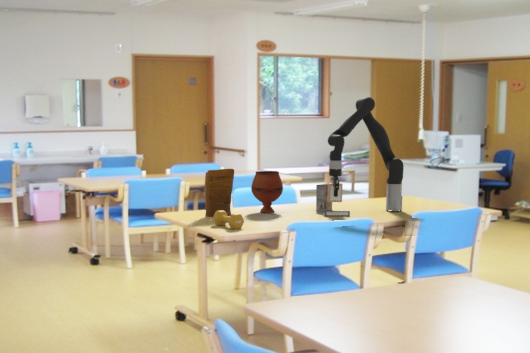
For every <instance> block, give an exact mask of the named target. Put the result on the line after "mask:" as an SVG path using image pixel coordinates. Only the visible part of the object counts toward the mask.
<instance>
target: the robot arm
mask: <svg viewBox="0 0 530 353" xmlns="http://www.w3.org/2000/svg"><path fill="white" fill-rule="evenodd" d="M375 106H376V102H375V99H374V98H372V97H370V96H366V97H363V98H359V99H357V101H356V102H355V109H356V111H355V112H354V113H353V114H351V115H350V116H349V117H348V118H346V119H345V120H344V121H343V123H342V124H341V125H340V126H339V127H338V128H337V129H336V130H335V131H333V132H331V133H330V134H329V136H328V138H327V144H328V145H329V146H331V147H333V150H331V151H330V152H329V163H328V165H329V166H328V168H329V169H328V175H329V176H330V177H331V178H330V183H333V187H334V197H337V196H338V190H339V183H341V182H340V181H341V180H340V179H339V177H341V176H342V173H343V172H342V170H343V167H342V166H343V163H342V162H343V161H342V156H343V154H342V153H343V151H344V146H345V138H346V137H348V136H349V135H350V134H351V132H352V131H354V129H355V128H356V127H357V125H358V124H360V122H361V121H362V120H363V123H364V124H365V126H366V128H367V131H368V132H369V134H370V136H371V138H372V140H373V142H374V144H375V147H376V148H377V150H378V151H379V153H380V155H381V158H382V160H383V163H384V167H385V168H386V169H387V171H388V177H387V178H386V198H385V211H386V210H392V211H399V210H402V211H403V196H402V186H403V185H402V182H403V179H404V162H403V161H402V159H400V158H398V157H396V155H395V154H394V152H393V150H392V147H391V143H390V142H391V141H390V138H389V135H388V133H387V131H386V129H385V127H384V126H383V125H382V124H381V123H380V122H379V121H378V120H377V119H376V118H375V117H374V116H373V113H372V111H373V110H374V109H375ZM334 184H335V185H334ZM336 187H337V188H336ZM399 212H400V211H399Z"/></svg>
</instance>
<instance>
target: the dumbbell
mask: <svg viewBox="0 0 530 353" xmlns="http://www.w3.org/2000/svg"><path fill="white" fill-rule="evenodd" d="M212 221H213V222H214V224H215V225H216V226H218V227H220V226H225V225H226V224H228V226H229V227H230V229H231V230H240V229H242V227H243V225H244V223H245V220H244V218H243V215H242V214H241V213H231V215H230V216H228V215H227V213H226V211H223V210H219V211H216V212H215V214H214V216H213V217H212Z"/></svg>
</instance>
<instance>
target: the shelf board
mask: <svg viewBox="0 0 530 353" xmlns="http://www.w3.org/2000/svg"><path fill="white" fill-rule="evenodd" d="M350 214H351V211H350V210H327V211H321V215H322V216H323V217H350Z"/></svg>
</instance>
